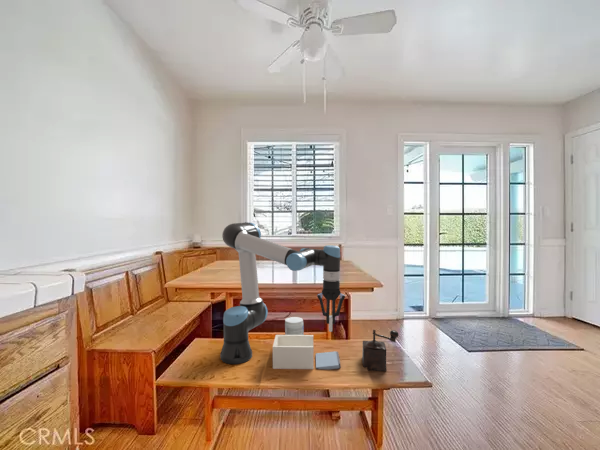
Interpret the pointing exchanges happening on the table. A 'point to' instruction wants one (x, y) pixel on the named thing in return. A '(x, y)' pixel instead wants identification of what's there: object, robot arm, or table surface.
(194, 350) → the table surface
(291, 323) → the supplement tub
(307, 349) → the box
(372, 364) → the dark brown coffee grinder
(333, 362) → the light blue panel
